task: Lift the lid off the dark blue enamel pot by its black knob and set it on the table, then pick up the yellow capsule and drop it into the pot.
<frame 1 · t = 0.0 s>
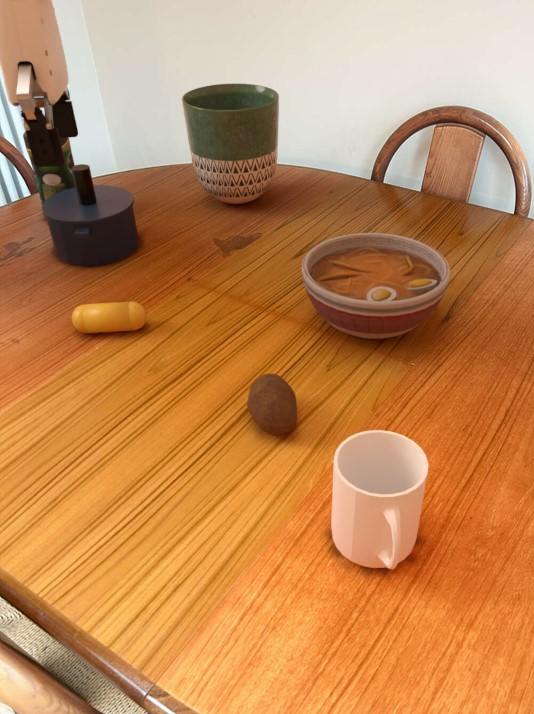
hand: (58, 150, 76), 32 cm above the table, tool pointing down, fingers open, 9 cm apart
pot: (97, 246, 128), on the table
mug: (378, 545, 72), on the table
lid: (88, 205, 122), point 8 cm above the table, touching pot
yellow capsule: (112, 329, 105), on the table
potato: (272, 421, 88), on the table
coffee jar: (65, 213, 140), on the table
planter: (237, 199, 146), on the table
bowl: (371, 320, 107), on the table
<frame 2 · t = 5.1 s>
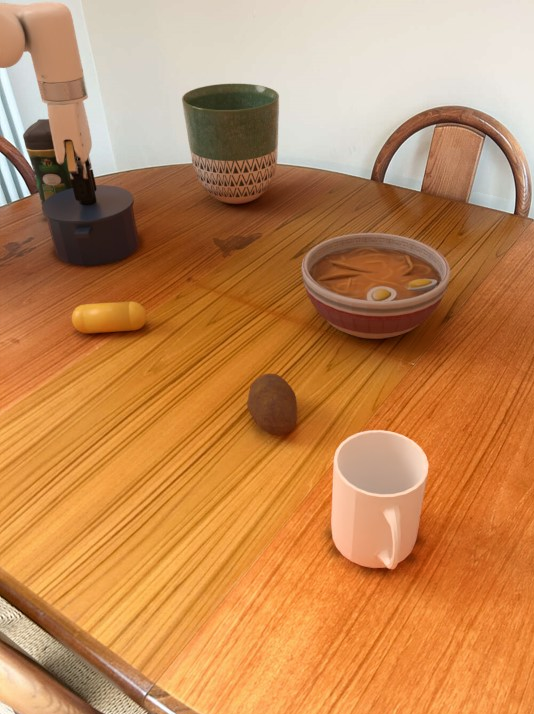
hand: (86, 194, 121), 11 cm above the table, tool pointing down, fingers closed on lid, 3 cm apart
lid: (88, 205, 122), point 9 cm above the table, touching gripper, pot
everything else where it was.
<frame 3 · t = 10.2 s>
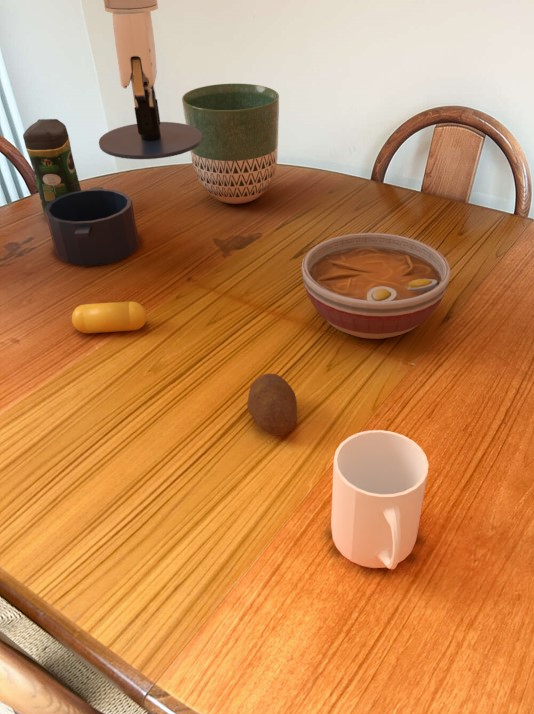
hand: (149, 128, 105), 25 cm above the table, tool pointing down, fingers closed on lid, 3 cm apart
lid: (151, 141, 107), point 23 cm above the table, touching gripper
everything else where it was.
when the fingers open (3 cm above the table, at t = 15.4 s): lid stays where it is, point 1 cm above the table.
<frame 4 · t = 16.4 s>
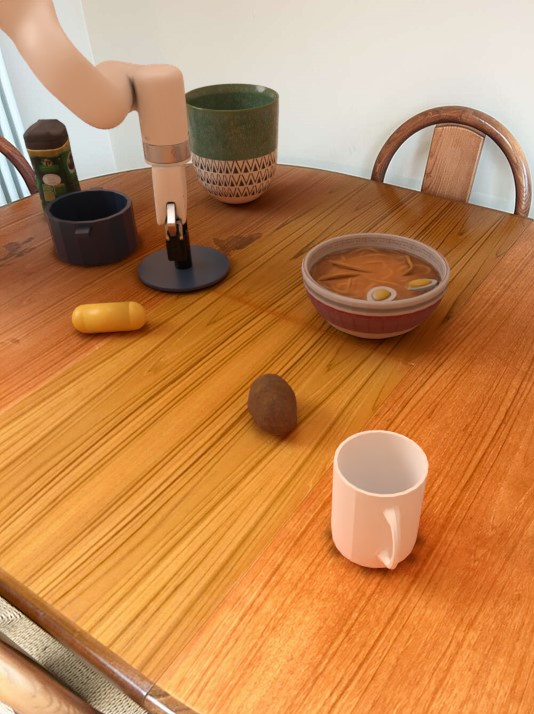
hand: (178, 247, 117), 5 cm above the table, tool pointing down, fingers open, 9 cm apart
lid: (184, 268, 120), point 1 cm above the table
everything else where it was.
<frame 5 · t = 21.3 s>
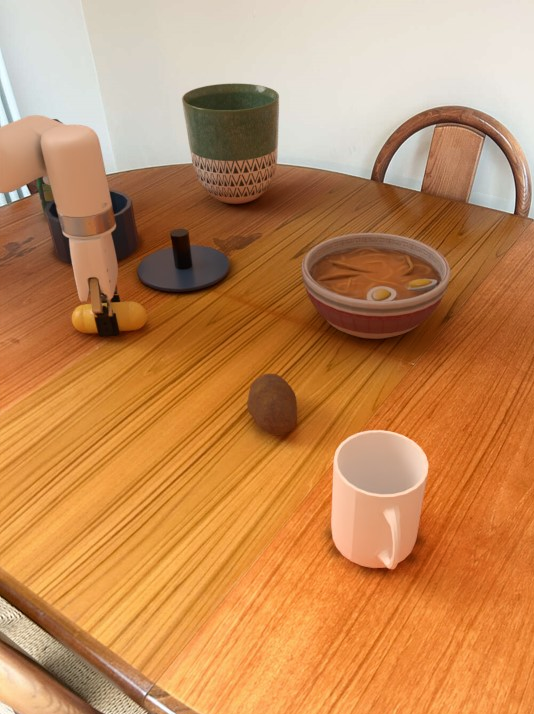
hand: (111, 325, 105), 1 cm above the table, tool pointing down, fingers closed on yellow capsule, 4 cm apart
yellow capsule: (112, 329, 105), on the table, touching gripper
everything else where it was.
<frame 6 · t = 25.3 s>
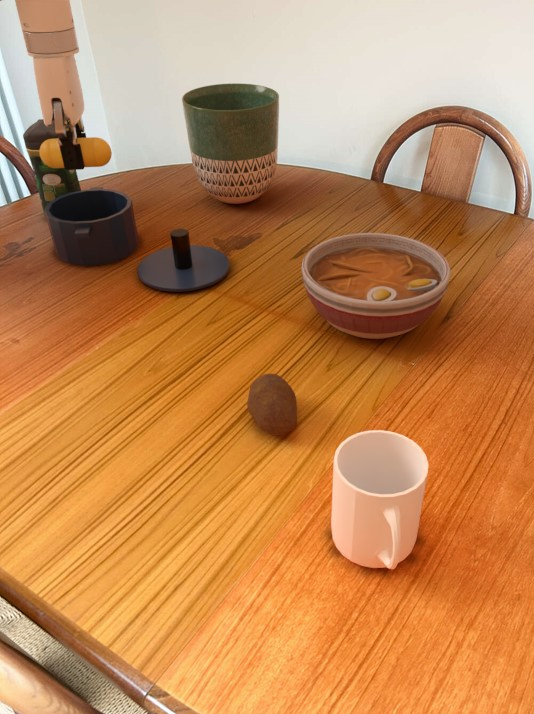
hand: (77, 162, 110), 19 cm above the table, tool pointing down, fingers closed on yellow capsule, 4 cm apart
yellow capsule: (78, 166, 110), point 18 cm above the table, touching gripper
everything else where it was.
when the fingers open (7 cm above the table, at t = 29.4 s): yellow capsule drops 6 cm, resting on pot.
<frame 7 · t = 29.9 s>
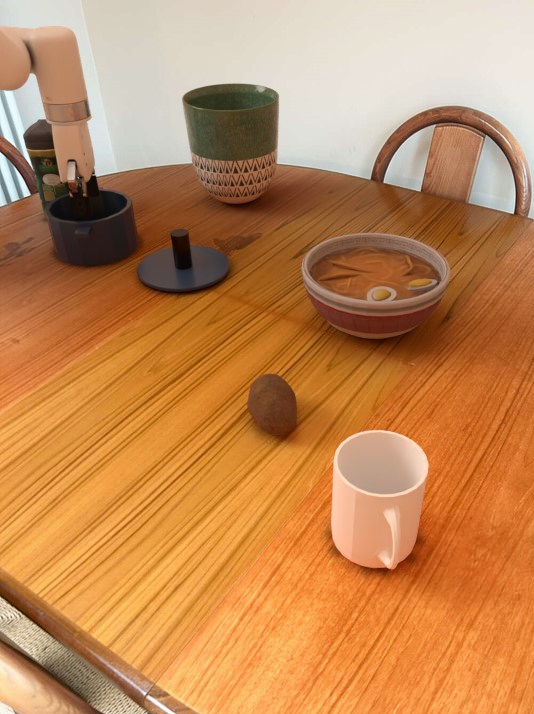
hand: (88, 206, 123), 8 cm above the table, tool pointing down, fingers open, 9 cm apart
yellow capsule: (97, 244, 128), point 1 cm above the table, touching pot
everything else where it was.
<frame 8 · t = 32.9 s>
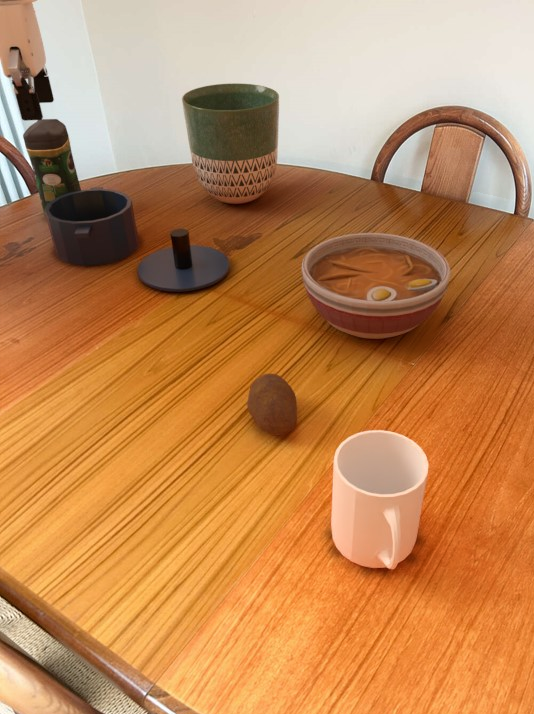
hand: (38, 110, 109), 26 cm above the table, tool pointing down, fingers open, 9 cm apart
nothing on the table moved.
at the end: yellow capsule inside the target area in the pot (0.0 cm from its centre), point 0.5 cm above the pot's base; lid point 0.6 cm above the table; lid inside the target area (0.1 cm from its centre), point 0.6 cm above the table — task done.
